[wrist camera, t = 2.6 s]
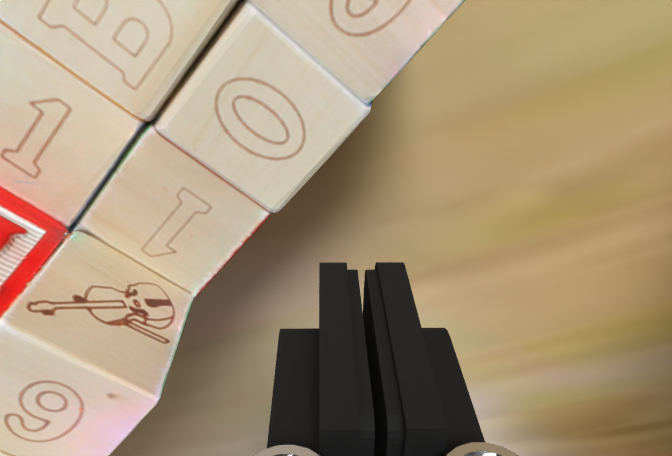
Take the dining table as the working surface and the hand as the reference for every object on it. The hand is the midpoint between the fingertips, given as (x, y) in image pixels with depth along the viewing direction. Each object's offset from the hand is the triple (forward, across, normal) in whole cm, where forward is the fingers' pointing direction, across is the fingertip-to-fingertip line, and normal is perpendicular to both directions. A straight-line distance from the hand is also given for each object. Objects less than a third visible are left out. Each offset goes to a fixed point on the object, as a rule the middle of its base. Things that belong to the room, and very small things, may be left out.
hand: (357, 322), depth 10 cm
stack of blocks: (+11, +7, 0) cm, 13 cm away
